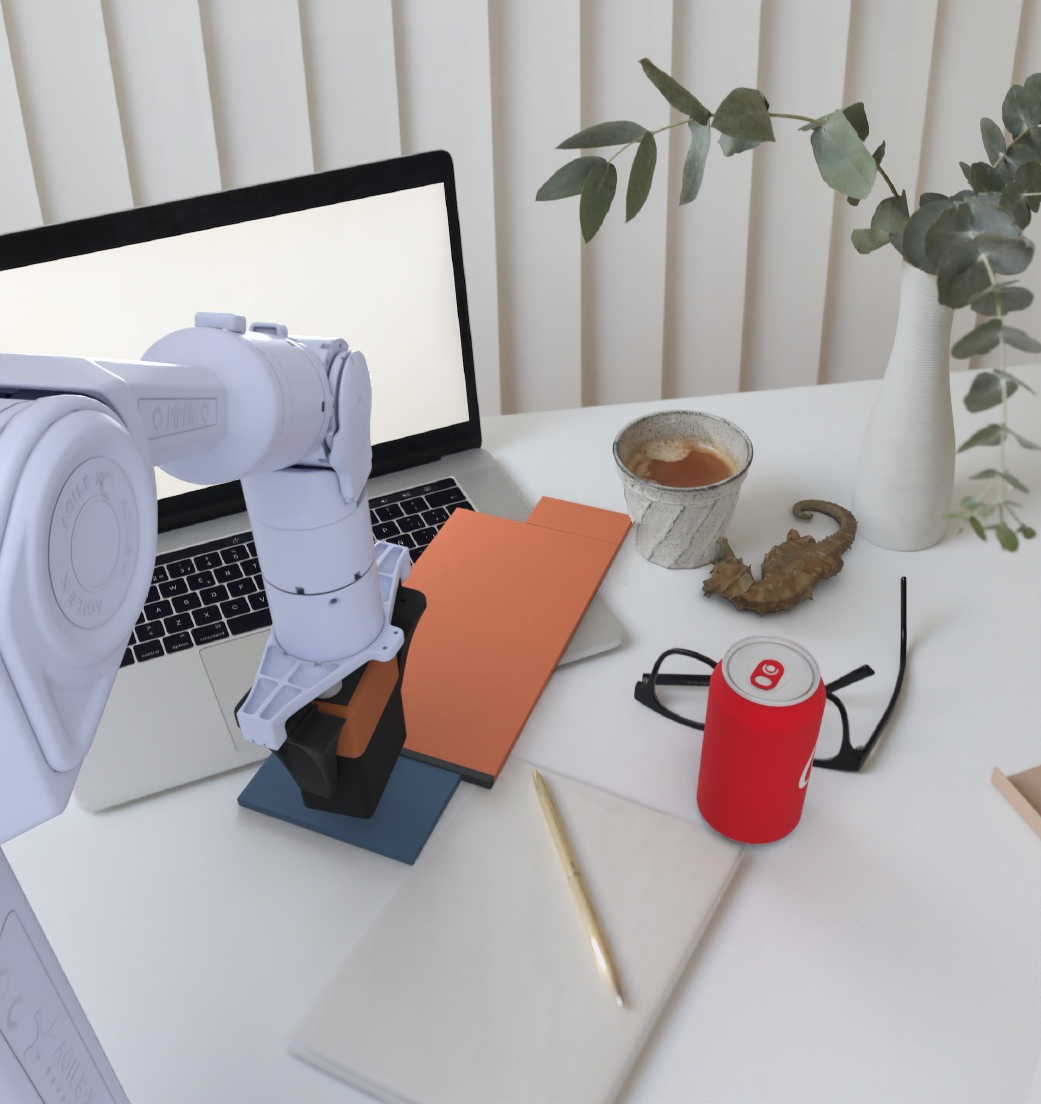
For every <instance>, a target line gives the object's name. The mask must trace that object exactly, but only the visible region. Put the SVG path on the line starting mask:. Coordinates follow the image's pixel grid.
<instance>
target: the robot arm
mask: <svg viewBox="0 0 1041 1104" xmlns="http://www.w3.org/2000/svg"><path fill="white" fill-rule="evenodd" d="M248 328H249V329H248V331H247V318H246V316H245V315H244V314H239V313H233V312H232V313H231V312H230V313H229V312H211V311H198V312H196V313H195V314H194V326H190V327H185V328H181V329H177V330H173V331H171V332H169V333H167V334H166V335H164V336H162V337H160V338H158V339H157V340H156V341H154V342H153V343H152V344H151V345H150V346H149V347H148V348H147V349H146V350H145V351H144V353H143V354H142V355H141V357H140V358H139V360H130V359H118V358H105V357H95V356H94V357H92V356H77V355H58V354H38V353H20V352H0V1104H132V1103H131V1101H130V1099H129V1097H128V1096H127V1093H126V1091H125V1089H124V1086H122V1084H121V1081H120V1080H119V1077H118V1076H117V1074H116V1071H115V1070H114V1068H113V1065H112V1064H111V1062H110V1060H109V1058H108V1056H107V1054H106V1052H105V1050H104V1048H103V1045H102V1044H101V1042H100V1040H99V1037H98V1035H97V1034H96V1032H95V1030H94V1028H93V1026H92V1024H91V1022H90V1020H89V1018H88V1016H87V1014H86V1012H85V1010H84V1008H83V1006H82V1004H81V1002H80V1001H79V999H78V996H77V994H76V992H75V990H74V988H73V987H72V985H71V984H72V983H70V981H69V979H68V976H67V975H66V973H65V970H64V969H63V966H62V965H61V963H60V961H59V959H58V956H57V955H56V953H55V951H54V949H53V947H52V945H51V942H50V941H49V939H48V937H47V935H46V933H45V931H44V928H43V927H42V925H41V923H40V921H39V920H38V917H37V915H36V914H35V911H34V909H33V907H32V905H31V904H30V901H29V900H28V897H27V895H26V893H25V892H24V890H23V887H22V886H21V884H20V882H19V879H18V878H17V876H16V873H15V871H14V870H13V868H12V865H11V864H10V862H9V860H8V858H7V856H6V854H5V852H4V850H3V848H2V845H3V844H6V843H7V842H10V841H12V840H13V839H15V838H17V837H19V836H21V835H23V834H25V833H27V832H29V831H31V830H33V829H35V828H36V827H39V826H40V825H42V824H43V825H44V824H45V823H46V822H48V821H50V820H52V819H55V818H57V817H58V816H60V815H61V814H64V812H65V810H66V809H67V807H68V805H69V801H70V799H71V796H72V794H73V791H74V788H75V786H76V783H77V780H78V778H79V774H80V771H81V769H82V766H83V763H84V760H85V758H86V756H87V755H88V753H89V752H90V750H91V748H92V745H93V743H94V739H95V736H96V734H97V732H98V729H99V726H100V722H101V720H102V717H103V715H104V712H105V710H106V706H107V704H108V701H109V697H110V694H111V692H112V689H113V686H114V684H115V681H116V678H117V675H118V672H119V670H120V667H121V664H122V661H123V659H124V657H125V654H126V650H127V647H128V645H129V642H130V639H131V636H132V634H133V631H134V628H135V625H136V624H137V621H138V619H139V618H140V615H141V613H142V611H143V609H144V606H145V604H146V602H147V599H148V595H149V592H150V588H151V584H152V580H153V576H154V571H155V566H156V558H157V551H158V549H157V547H158V533H159V531H158V528H159V526H158V525H159V523H158V521H159V520H158V519H159V517H158V516H159V515H158V511H159V509H158V507H159V506H158V490H157V479H156V472H155V467H157V468H159V469H160V470H161V471H163V472H164V473H166V474H167V475H169V476H171V477H172V478H175V479H176V480H179V481H182V482H186V483H189V484H193V485H198V486H214V485H219V484H220V485H221V484H225V483H229V482H233V481H237V480H240V485H241V489H242V494H243V497H244V501H245V506H246V511H247V515H248V520H249V524H250V529H251V533H252V539H253V542H254V546H255V550H256V555H257V561H258V564H259V568H260V573H261V578H262V582H263V587H264V591H265V595H266V600H267V604H268V608H269V613H270V617H271V622H272V624H271V627H270V630H269V632H268V633H269V634H268V637H267V639H266V643H265V646H264V649H263V652H262V655H261V658H260V661H259V665H258V668H257V671H256V673H255V677H254V679H253V680H254V681H253V683H252V685H251V686H250V688H249V689H248V690H247V691H246V693H244V695H243V696H242V698H241V699H240V700H239V701H238V702H237V704H236V706H235V707H234V709H233V716H234V719H235V722H236V726H237V728H239V729H240V732H241V736H242V740H243V741H245V742H248V743H251V744H253V745H256V746H259V747H262V748H267V749H268V750H269V751H270V752H271V753H272V752H273V753H274V754H275V755H276V756H277V758H278V759H279V760H280V761H281V762H282V763H283V765H284V766H285V767H286V769H287V770H288V771H289V773H290V774H291V776H292V777H293V779H294V780H295V782H296V783H297V785H298V786H299V788H300V789H302V790H305V791H308V792H311V793H314V794H317V795H320V796H323V797H326V798H330V797H331V796H332V795H333V793H334V792H335V790H336V787H337V783H338V770H337V759H336V753H337V744H338V739H339V735H340V732H341V730H342V727H343V726H344V724H345V722H346V720H347V719H345V718H341V717H338V716H335V715H332V714H329V713H325V712H322V711H319V710H318V705H317V704H316V703H314V704H312V703H311V701H312V700H313V699H315V698H316V697H318V696H319V695H320V694H322V693H323V692H325V691H326V690H328V689H329V688H330V687H332V686H333V685H335V684H336V683H337V682H339V681H340V680H342V679H343V678H344V677H346V676H347V675H349V674H350V673H352V672H353V671H354V670H356V669H357V668H359V667H360V666H361V665H363V664H364V663H366V662H367V661H369V660H377V661H382V662H386V661H390V660H391V659H392V658H394V656H395V655H396V656H397V664H398V671H399V679H400V687H402V683H403V677H404V671H405V665H406V660H407V655H408V651H409V647H410V643H411V640H412V637H413V634H414V632H415V629H416V627H417V624H418V622H419V620H420V618H421V616H422V615H423V613H424V611H425V609H426V608H427V601H426V596H425V595H424V593H422V592H421V591H418V590H415V589H412V588H408V587H404V586H402V583H401V582H404V581H405V580H406V579H407V578H408V577H409V575H410V574H411V568H412V566H411V565H412V564H411V556H410V547H408V546H404V545H399V544H396V543H393V542H388V541H384V540H377V541H376V542H375V541H374V540H375V539H374V533H373V526H372V518H371V511H370V503H369V496H368V490H367V481H368V479H369V476H370V474H371V472H372V468H373V466H372V465H373V463H372V459H373V450H372V442H371V441H372V440H371V420H372V405H373V402H372V401H373V396H372V395H373V388H372V387H373V386H372V375H371V370H370V369H369V365H368V362H367V359H366V357H365V355H364V354H363V352H362V351H360V350H353V351H352V350H351V349H349V347H350V345H349V344H348V342H347V341H346V340H345V339H344V338H341V337H325V336H307V335H305V336H304V335H303V336H302V335H289V329H288V327H287V326H286V325H285V324H283V323H278V322H265V321H264V322H263V321H262V322H261V321H254V322H252V323H251V324H250V325H249V327H248Z"/></svg>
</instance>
